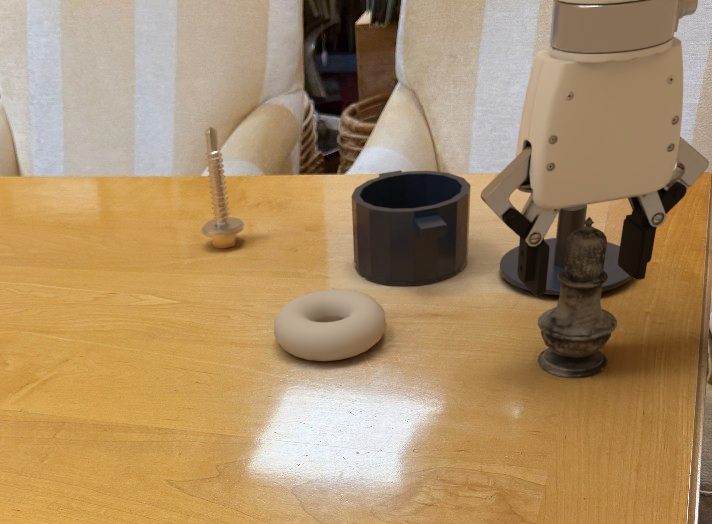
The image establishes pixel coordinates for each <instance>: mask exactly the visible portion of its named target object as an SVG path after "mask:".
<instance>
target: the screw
mask: <svg viewBox="0 0 712 524" xmlns="http://www.w3.org/2000/svg"><path fill="white" fill-rule="evenodd" d="M204 138H205V145H206V151H207V152H206V153H205V155H206V159H205V161H207V164H206V166H207V168H208V169H207V170H206V171H207V172H208V175H207V177H208V178H209V180H208V183H209V184H210V185H209V189H210V190H211V191H210V192H209V193H210V194H211V197H210V199H212V201H211V204H212V207H211V209H213V212H212V214H213V215H214V217H213V219H211V220H209V221H207V222H206V223H205V224H204V225H203V226H202V228H201V234H202V235H203V236H204V237H207V238H210V239H212V245H213V248H214V249H219V250H225V249H229V248H232V247H235V246H236V243H237V235H238V234H240V233H241V232H242V231H244V229H245V222H244V221H243V220H241V219H240V218H238V217H233V216H232V217H231V216H230V212H229V210H230V207H228V205H229V201H228V196H227V194H228V191H226V189H227V185H225V184H226V183H227V181H226V180H225V178H226V175H225V174H224V173H225V169H224V166H225V164H223V162H224V159H223V158H222V156H223V153H222V152H221V151H222V149H220V145H219V137H218V129H216V128H215V127H212V126H209V127H208V128H206V129H205V131H204Z"/></svg>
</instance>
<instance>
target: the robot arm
mask: <svg viewBox="0 0 712 524" xmlns="http://www.w3.org/2000/svg"><path fill="white" fill-rule="evenodd" d="M698 4H699V0H553V1H552V13H551V26H550V37H549V48H546V49H540V50H539V51H538V52H536V53H535V58H534V61H533V64H532V67H531V71H530V75H529V79H528V83H527V87H526V91H525V97H524V100H523V107H522V111H521V117H520V123H519V130H518V136H517V143H516V150H515V157H514V158H513V160H511V162H510V163H508V164H507V165H506V167H504V169H502V171H501V172H500V173H499V174H497V175H496V176H495V177H494V178H493V179H492V180H491V181H490V182H489V183H488V184H487V185H486V186H485V187H484V188H483V189H482V190H481V192H480V199H481V200H482V201H483V202H484V203H485V204H486V205H487V206H488V208H489V209H490V210H491V211H492V212H493V213H494V214H495V216H497V218H499V219H500V220H501V221H502V223H504V224H505V225H506V226H507V227H508V228H509V229H510V230H511V231H512V232H513V233H515V234H516V235H517V236H518V237H519V241H518V242H519V243H518V246H519V256H518V269H517V272H518V277H519V279H520V281H521V282H523V283H524V284H525V285H526V286H527V288H528V289H529V290H530V291H529V290H528V291H529V292H531V293H532V294H533V295H534V296H535V297H539V296H543V295H544V293H545V292H546V282H547V272H548V261H549V251H550V248H549V245H548V244H547V243H546V242H545V241H544V239H545V237H546V236H547V233H548V231H549V230H550V228H551V226H552V225H553V223H554V221H555V219H556V217H558V212H559V210H560V209H561V208H568V207H575V206H581V205H587V206H588V205H594V204H600V203H605V202H611V201H618V200H625V199H628V202H629V204H630V207H631V214H626V215H625V218H624V219H623V221H622V222H623V223H622V229H621V236H620V243H619V246H620V250H619V257H618V266H619V267H620V268H622V269H623V270H624V271H625V272H626V273H627V274H629V275H630V276H631V277H632V278H631V279H634V280H635V281H639V280H644V279H645V278H646V274H647V267H648V263H650V262H651V261H652V256H653V251H654V245H655V239H656V233H657V228H659V227H660V226H662V225H663V224H664V223H665V222H666V220H667V214H668V213H669V212H671V210H673V209H674V207H675V206H676V205H677V204H678V203H679V202H680V201H682V199H683V198H684V197H685V196H686V194H687V191H688V189H689V188H691V187H692V186H693V185H694V184H695V183H696V182H697V181H698V180H699V179H700V178H701V176H702V175H703V174H704V173H705V172H706V171H707V169H708V168H709V165H710V162H709V159H708V158H706V156H704V155H703V154H702V153H700V152H699V150H697V149H696V148H695V147H693V146H692V145H691V144H690V143H689V142H688V141H687V140H685V139H684V138H683V137H682V136H681V130H682V119H683V105H684V60H683V58H684V57H683V45H682V40H680V39H679V37H678V38H677V37H675V33H677V32H678V28H679V22H680V21H679V20H680V19H683V18H684V17H685V16H686V17H687V16H692V15H693V14H695V13H696V12H697V8H698ZM516 190H518V191H520V192H522V193H527V194H530V195H529V197H528V198H527V200H526V202H525V204H524V205H523V208H522V210H520V211H519V210H518V209H517V208H516V207H515V206H514V205H513V204H512V202H511V199H510V197H511V195H512V194H513V193H514V192H515V191H516Z"/></svg>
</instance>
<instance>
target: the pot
mask: <svg viewBox="0 0 712 524" xmlns="http://www.w3.org/2000/svg"><path fill="white" fill-rule="evenodd" d="M471 187H472V185H471V184H470V182H468V181H467V180H466V178H464V177H462V176H459V175H456V174H453V173H450V172H444V171H435V170H410V171H409V170H407V171H402V169H401V170H400V169H399V170H396V171H394V170H393V171H389V172H382V173H378V176H377V177H375V178H371V179H368V180H366V181H365V182H363V183H361V184H360V185H358V186H356V187H355V189H354V191H353V192H352V194H351V212H352V213H351V217H352V218H351V219H352V243H353V244H352V245H353V262H354V266H355V271H356V272H357V274H358V276H360V277H361V278H363V279H365V280H367V281H369V282H372V283H375V284H379V285H385V286H390V287H391V286H393V287H414V286H424V285H430V284H434V283H438V282H442V281H444V280H447V279H449V278H452V277H454V276H455V275H457V274H459V273H461V272H462V271H463V269H464V268H466V265H467V263H468V256H469V242H470V241H469V240H470V239H469V237H470V213H471V210H470V208H471Z"/></svg>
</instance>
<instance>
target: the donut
mask: <svg viewBox="0 0 712 524" xmlns="http://www.w3.org/2000/svg"><path fill="white" fill-rule="evenodd" d="M386 325H387V321H386V315H385V310H384V308H383V306H382V305H381V304H380V303H379V302H378V301H377V300H376V299H375V298H373V297H372V296H370V295H368V294H367V293H364V292H362V291H357V290H351V289H343V288H342V289H341V288H340V289H339V288H329V289H320V290H316V291H312V292H308V293H304V294H302V295H299V296H297V297H295V298H293V299H292V300H290V301H288V302H287V303H285V304H284V305H283V306H282V307H281V309H280V310H279V311H278V312H277V314H276V316H275V317H274V324H273V335H274V338H275V340H276V341H277V342H278V344H279V345H280V347H281V348H282V350H284V351H285V352H287V353H289V354H291V355H293V356H294V357H296V358H299V359H303V360H307V361H315V362H332V361H341V360H345V359H349V358H353V357H356V356H358V355H361V354H363V353H365V352H367V351H368V350H369V349H371V348H372V347H373V346H374V345H376V344H377V343H378V342H379V341H380V339H381V338H382V336H383V334H384V332H385V330H386V327H387V326H386Z"/></svg>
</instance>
